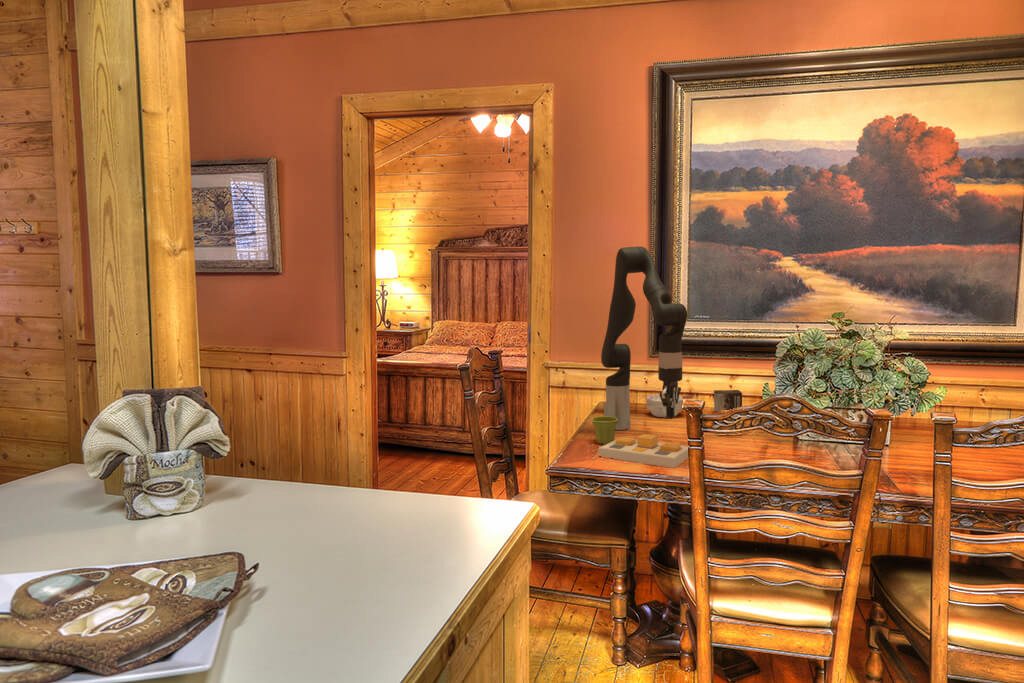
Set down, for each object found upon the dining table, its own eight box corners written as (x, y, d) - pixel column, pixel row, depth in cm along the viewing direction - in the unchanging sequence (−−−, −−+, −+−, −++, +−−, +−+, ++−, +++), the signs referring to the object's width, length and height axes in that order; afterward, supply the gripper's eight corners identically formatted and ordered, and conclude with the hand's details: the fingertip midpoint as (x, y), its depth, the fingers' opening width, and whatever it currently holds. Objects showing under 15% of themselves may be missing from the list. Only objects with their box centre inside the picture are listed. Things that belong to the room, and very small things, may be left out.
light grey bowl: (686, 419, 271) (686, 400, 270) (648, 419, 272) (648, 400, 271) (679, 411, 286) (679, 393, 285) (644, 412, 287) (644, 394, 286)
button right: (660, 455, 213) (660, 445, 213) (666, 451, 217) (666, 442, 217) (675, 457, 210) (675, 447, 210) (680, 453, 214) (680, 444, 214)
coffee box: (738, 431, 246) (738, 389, 245) (742, 436, 240) (743, 392, 238) (713, 432, 247) (713, 389, 246) (717, 436, 241) (717, 392, 239)
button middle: (637, 445, 217) (637, 437, 217) (643, 442, 222) (643, 433, 221) (651, 447, 215) (651, 438, 214) (657, 444, 219) (657, 435, 218)
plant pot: (593, 446, 232) (593, 422, 231) (590, 439, 241) (590, 416, 240) (620, 445, 232) (619, 421, 231) (616, 439, 241) (615, 415, 240)
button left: (615, 448, 222) (615, 440, 222) (622, 445, 226) (622, 437, 226) (629, 450, 219) (629, 441, 219) (635, 447, 223) (635, 438, 223)
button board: (598, 456, 218) (598, 446, 217) (620, 446, 231) (620, 436, 230) (673, 467, 203) (673, 457, 202) (692, 455, 216) (692, 445, 215)
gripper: (667, 362, 218) (667, 413, 220) (651, 367, 208) (651, 421, 209) (689, 363, 214) (688, 415, 216) (673, 369, 203) (673, 423, 205)
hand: (670, 418), depth 213 cm, fingers closed
